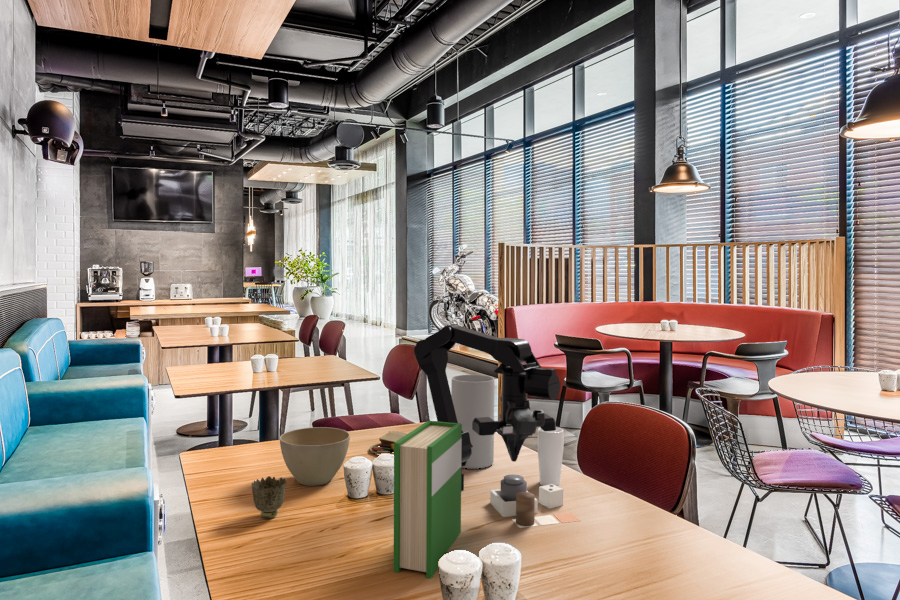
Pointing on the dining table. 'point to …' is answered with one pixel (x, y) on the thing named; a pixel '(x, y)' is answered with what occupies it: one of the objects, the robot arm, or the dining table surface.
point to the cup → (268, 495)
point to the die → (551, 496)
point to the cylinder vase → (475, 414)
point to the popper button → (512, 487)
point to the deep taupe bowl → (314, 453)
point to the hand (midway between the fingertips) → (513, 461)
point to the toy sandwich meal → (387, 442)
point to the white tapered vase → (550, 455)
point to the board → (510, 510)
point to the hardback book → (427, 495)
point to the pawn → (525, 508)
